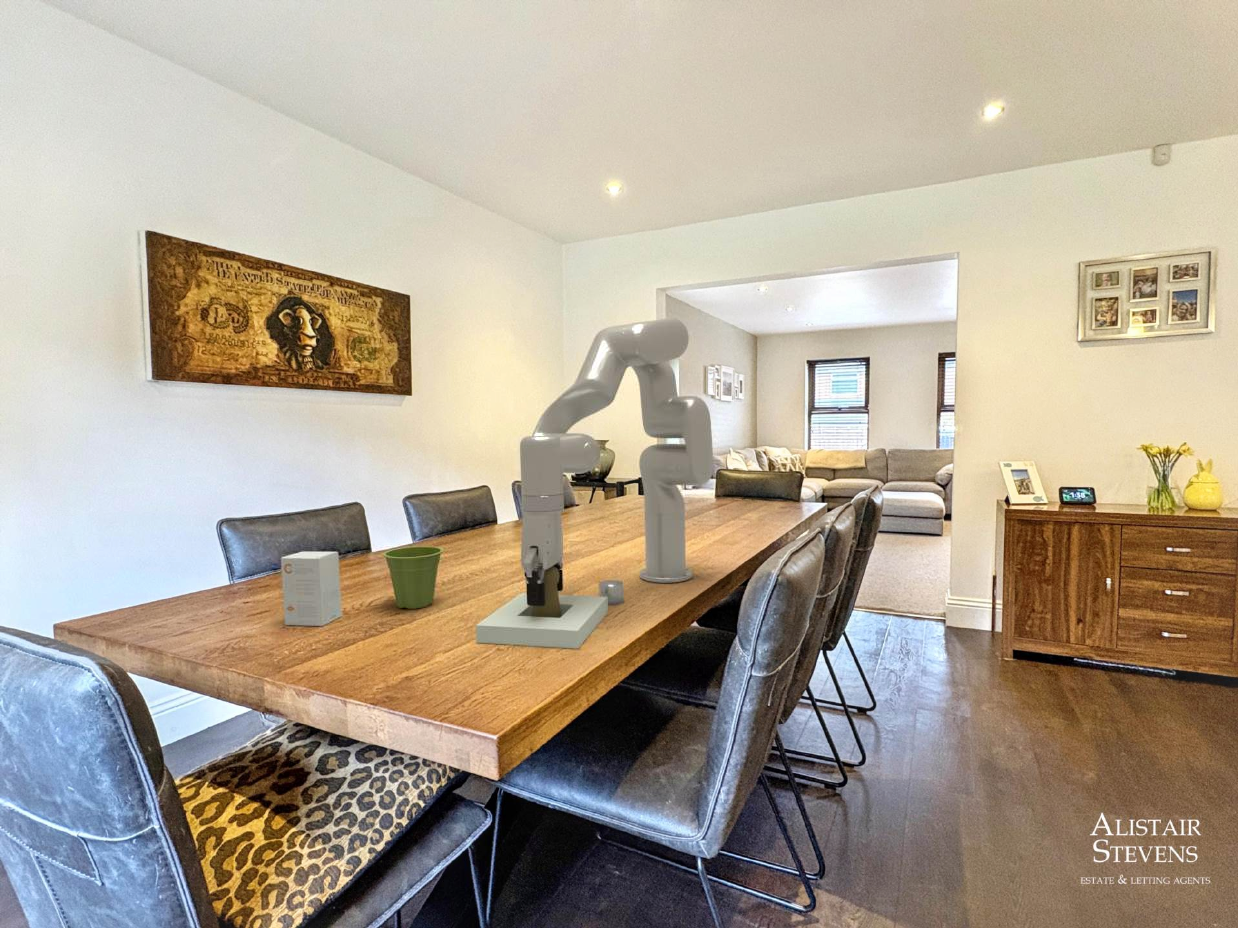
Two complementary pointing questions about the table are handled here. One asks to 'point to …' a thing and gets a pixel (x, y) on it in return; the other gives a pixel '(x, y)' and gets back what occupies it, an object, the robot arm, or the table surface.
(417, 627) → the table surface
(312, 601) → the small box
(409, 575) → the plant pot
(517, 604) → the hole board
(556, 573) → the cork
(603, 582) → the short metal pin
